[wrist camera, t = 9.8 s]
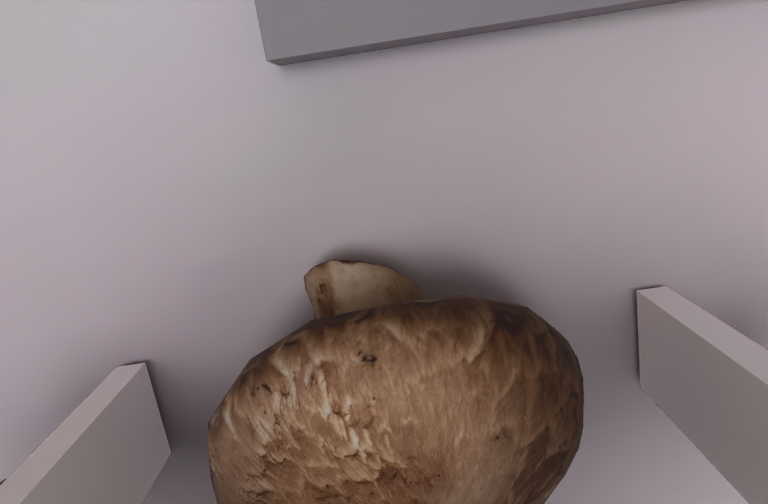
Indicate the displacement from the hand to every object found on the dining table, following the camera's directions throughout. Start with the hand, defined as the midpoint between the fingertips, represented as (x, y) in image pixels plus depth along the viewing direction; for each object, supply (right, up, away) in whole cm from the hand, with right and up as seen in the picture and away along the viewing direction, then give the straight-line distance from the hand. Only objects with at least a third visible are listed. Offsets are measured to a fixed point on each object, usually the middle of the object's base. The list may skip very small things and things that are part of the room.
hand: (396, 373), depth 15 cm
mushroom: (0, 0, 0) cm, 1 cm away
